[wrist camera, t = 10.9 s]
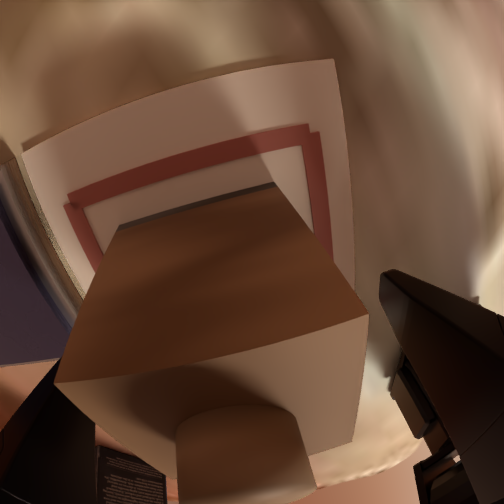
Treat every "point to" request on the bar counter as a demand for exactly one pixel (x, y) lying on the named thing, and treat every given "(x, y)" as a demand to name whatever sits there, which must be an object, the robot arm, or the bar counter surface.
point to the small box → (127, 479)
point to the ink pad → (30, 281)
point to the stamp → (221, 348)
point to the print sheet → (201, 158)
